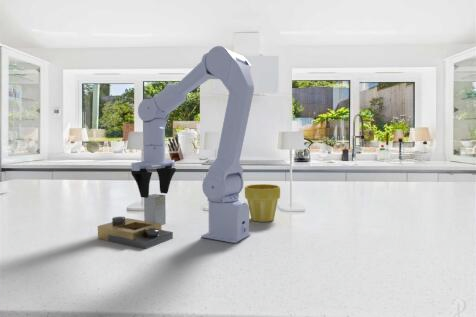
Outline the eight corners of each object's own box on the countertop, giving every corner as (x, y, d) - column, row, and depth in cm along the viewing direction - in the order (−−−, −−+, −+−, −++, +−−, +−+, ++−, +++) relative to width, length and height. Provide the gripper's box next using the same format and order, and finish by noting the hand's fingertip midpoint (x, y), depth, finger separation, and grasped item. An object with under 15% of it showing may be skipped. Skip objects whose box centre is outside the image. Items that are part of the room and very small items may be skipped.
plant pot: (237, 219, 99) (237, 186, 98) (259, 213, 106) (259, 182, 106) (265, 225, 92) (265, 190, 91) (286, 219, 99) (287, 186, 99)
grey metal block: (165, 223, 94) (165, 195, 93) (155, 227, 90) (155, 197, 90) (154, 222, 95) (154, 193, 95) (144, 225, 92) (144, 196, 91)
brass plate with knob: (172, 238, 80) (172, 220, 80) (145, 249, 72) (144, 229, 72) (127, 229, 87) (127, 213, 87) (97, 238, 80) (97, 220, 79)
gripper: (161, 144, 100) (161, 190, 101) (122, 145, 87) (123, 197, 88) (180, 145, 96) (180, 192, 97) (142, 146, 84) (143, 200, 84)
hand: (154, 195), depth 92 cm, fingers open, 7 cm apart
